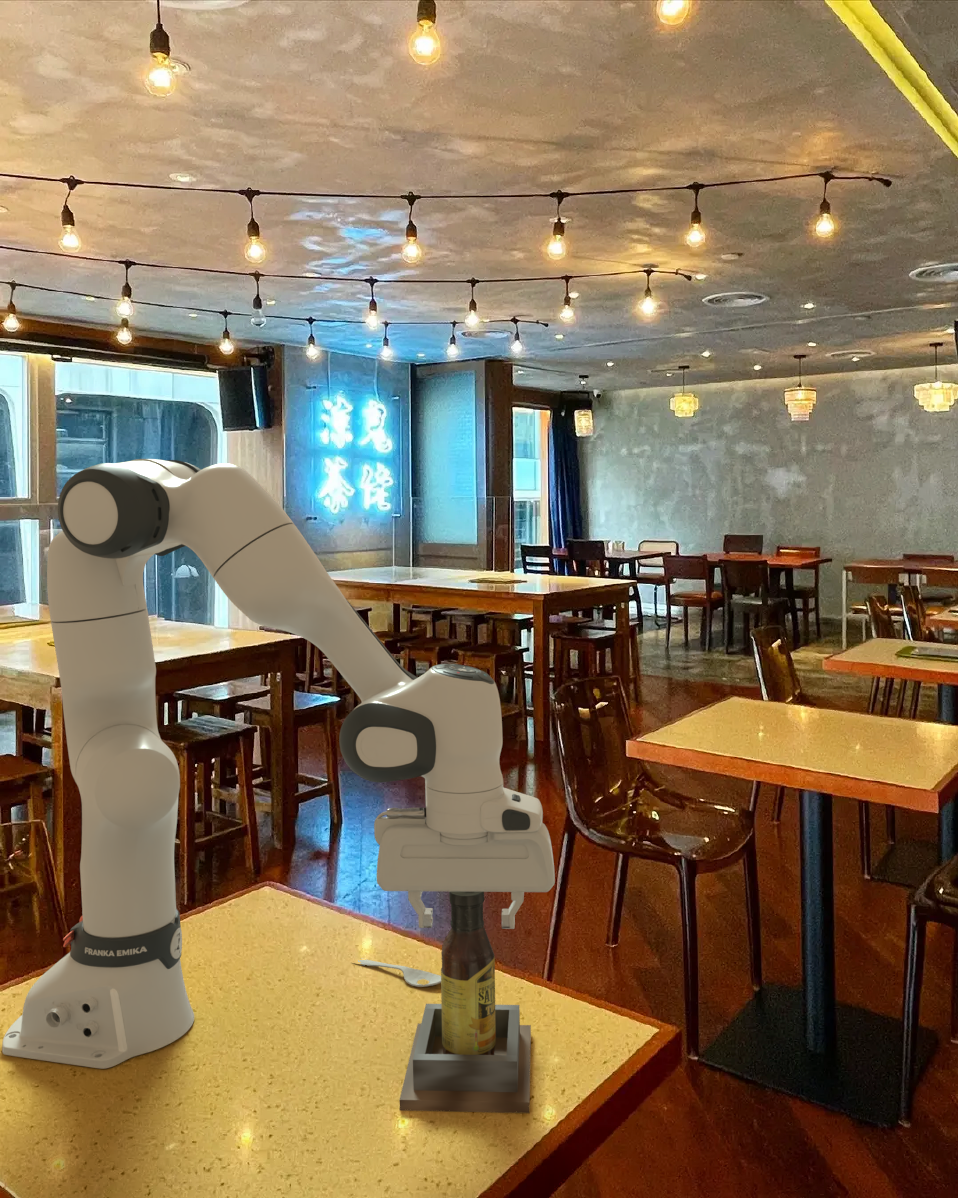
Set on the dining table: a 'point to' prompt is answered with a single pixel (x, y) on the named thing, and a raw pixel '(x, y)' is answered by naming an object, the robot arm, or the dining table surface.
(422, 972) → the spoon
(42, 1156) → the dining table surface
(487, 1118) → the dining table surface
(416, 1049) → the box
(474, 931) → the sauce bottle
